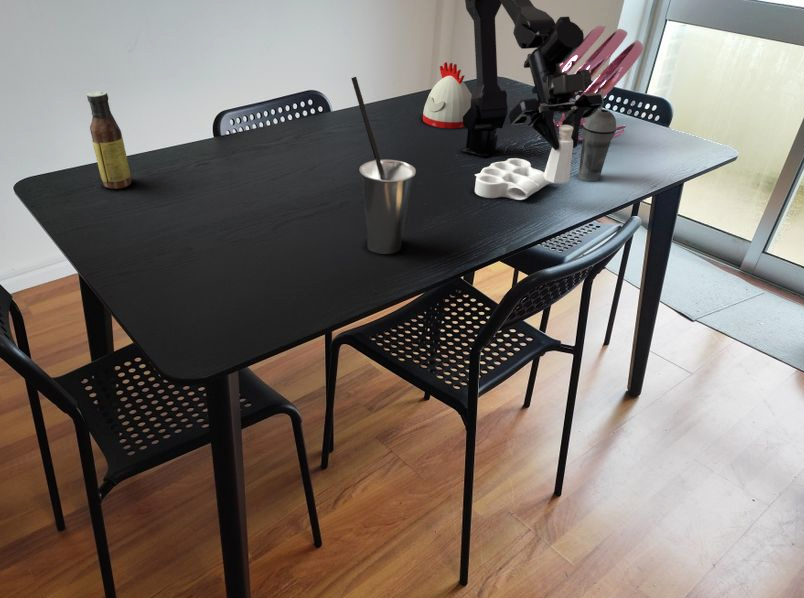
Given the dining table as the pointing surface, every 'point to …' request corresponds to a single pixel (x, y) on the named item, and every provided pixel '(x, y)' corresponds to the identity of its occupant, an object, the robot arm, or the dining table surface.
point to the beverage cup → (596, 143)
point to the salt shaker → (560, 158)
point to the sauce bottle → (108, 143)
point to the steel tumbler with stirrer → (384, 194)
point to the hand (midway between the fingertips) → (566, 148)
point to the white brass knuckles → (509, 180)
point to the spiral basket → (598, 59)
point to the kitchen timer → (447, 100)
